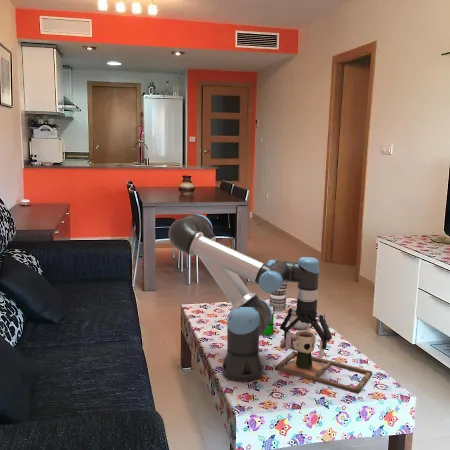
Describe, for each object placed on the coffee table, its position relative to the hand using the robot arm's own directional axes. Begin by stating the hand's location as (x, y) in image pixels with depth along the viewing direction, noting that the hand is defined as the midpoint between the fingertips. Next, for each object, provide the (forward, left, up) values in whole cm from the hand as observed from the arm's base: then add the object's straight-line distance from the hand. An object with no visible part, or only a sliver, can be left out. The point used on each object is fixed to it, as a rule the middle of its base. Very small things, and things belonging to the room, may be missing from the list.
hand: (304, 352), depth 187 cm
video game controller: (+13, +10, -6) cm, 17 cm away
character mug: (0, 0, -6) cm, 6 cm away
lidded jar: (+37, +18, -6) cm, 42 cm away
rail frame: (0, -8, -6) cm, 10 cm away
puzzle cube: (+23, +30, -6) cm, 39 cm away
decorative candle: (+51, +36, -6) cm, 63 cm away
